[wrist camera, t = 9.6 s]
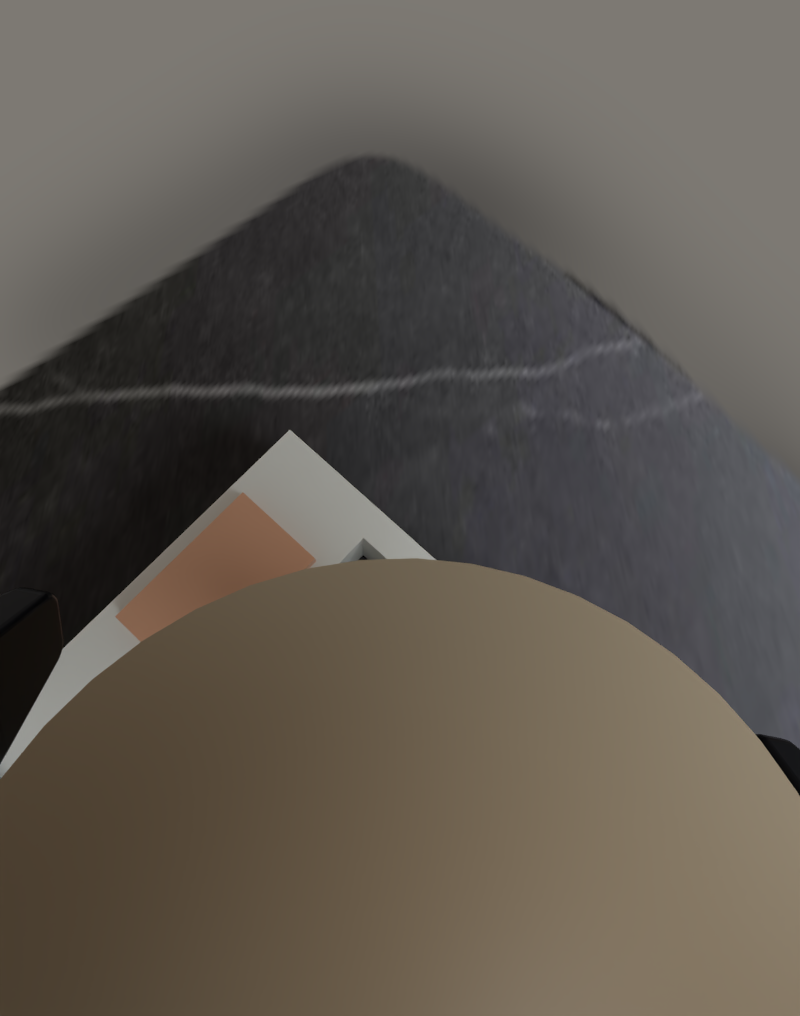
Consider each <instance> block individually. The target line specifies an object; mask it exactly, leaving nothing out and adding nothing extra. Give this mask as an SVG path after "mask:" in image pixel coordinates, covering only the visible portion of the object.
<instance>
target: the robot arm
mask: <svg viewBox="0 0 800 1016" xmlns="http://www.w3.org/2000/svg"><path fill="white" fill-rule="evenodd" d="M62 648H63V634H62V627H61V620H60V613H59V605H58V601H57V598H56V597H55V596H54V594H52V593H50V592H45V591H40V590H35V589H30V588H17V589H14V590H11V591H9V592H7V593H4V594H2V595H0V764H1V762H2V761H3V759H4V757H5V756H6V754H7V752H8V750H9V749H10V747H11V745H12V743H13V741H14V740H15V738H16V736H17V734H18V732H19V730H20V729H21V727H22V725H23V723H24V721H25V720H26V718H27V716H28V714H29V712H30V711H31V709H32V707H33V705H34V703H35V702H36V700H37V698H38V696H39V694H40V693H41V691H42V689H43V687H44V685H45V684H46V682H47V680H48V678H49V676H50V675H51V673H52V671H53V669H54V667H55V665H56V664H57V662H58V660H59V658H60V655H61V653H62ZM755 735H756V736H757V737H758V738H759V739H760V740H761V742H762V743H763V745H764V746H765V747H766V749H767V750H768V752H769V753H770V754H771V756H772V757H773V759H774V760H775V761H776V763H777V764H778V766H779V767H780V768H781V770H782V771H783V773H784V774H785V776H786V777H787V778H788V780H789V781H790V783H791V784H792V785H793V787H794V788H795V790H796V791H797V792H798V794H799V796H800V749H799V748H797V747H796V746H795V745H794V744H793V743H791V742H790V741H788V740H785V739H782V738H777V737H772V736H767V735H762V734H755Z"/></svg>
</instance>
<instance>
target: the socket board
mask: <svg viewBox="0 0 800 1016" xmlns="http://www.w3.org/2000/svg"><path fill="white" fill-rule="evenodd" d="M363 555H364V556H365V557H366V558H367V559H368V560H375V559H408V558H419V559H429V560H436V559H434V558H433V557H432V556H431V555H430V554H429V553H428V552H427V551H425V550H424V549H423V548H422V547H421V546H420V545H419V544H418V543H416V542H415V541H414V540H413V539H412V538H411V537H410V536H409V535H407V534H406V533H405V532H404V531H403V530H402V529H401V528H400V527H398V526H397V525H396V524H395V523H394V522H393V521H392V520H391V519H389V518H388V517H387V516H386V515H385V514H384V513H383V512H382V511H381V510H379V509H378V508H377V507H376V506H375V505H374V504H373V503H372V502H370V501H369V500H368V499H367V498H366V497H365V496H364V495H363V494H361V493H360V492H359V491H358V490H357V489H356V488H355V487H354V486H352V485H351V484H350V483H349V482H348V481H347V480H346V479H345V478H343V477H342V476H341V475H340V474H339V473H338V472H337V471H336V470H335V469H333V468H332V467H331V466H330V465H329V464H328V463H327V462H326V461H324V460H323V459H322V458H321V457H320V456H319V455H318V454H317V453H315V452H314V451H313V450H312V449H311V448H310V447H309V446H308V445H306V444H305V443H304V442H303V441H302V440H301V439H300V438H299V437H297V436H296V435H295V434H294V433H293V432H292V431H291V430H289V431H288V432H287V433H286V434H285V435H284V436H283V437H282V438H281V439H280V440H279V441H278V442H277V443H276V444H275V445H273V446H272V447H271V448H270V449H269V450H268V451H267V452H266V453H265V454H264V455H263V456H262V457H261V458H260V459H259V460H258V461H257V462H256V463H255V464H254V465H253V466H252V467H251V468H250V469H249V470H248V471H247V472H246V473H244V474H243V475H242V476H241V477H240V478H239V479H238V480H237V481H236V482H235V483H234V484H233V485H232V486H231V487H230V488H229V489H228V490H227V491H226V492H225V493H224V494H223V495H222V496H221V497H220V498H219V499H218V500H216V501H215V502H214V503H213V504H212V505H211V506H210V507H209V508H208V509H207V510H206V511H205V512H204V513H203V514H202V515H201V516H200V517H199V518H198V519H197V520H196V521H195V522H194V523H193V524H192V525H191V526H190V527H189V528H187V529H186V530H185V531H184V532H183V533H182V534H181V535H180V536H179V537H178V538H177V539H176V540H175V541H174V542H173V543H172V544H171V545H170V546H169V547H168V548H167V549H166V550H165V551H164V552H163V553H162V554H161V555H159V556H158V557H157V558H156V559H155V560H154V561H153V562H152V563H151V564H150V565H149V566H148V567H147V568H146V569H145V570H144V571H143V572H142V573H141V574H140V575H139V576H138V577H137V578H136V579H135V580H134V581H133V582H132V583H130V584H129V585H128V586H127V587H126V588H125V589H124V590H123V591H122V592H121V593H120V594H119V595H118V596H117V597H116V598H115V599H114V600H113V601H112V602H111V603H110V604H109V605H108V606H107V607H106V608H105V609H104V610H103V611H101V612H100V613H99V614H98V615H97V616H96V617H95V618H94V619H93V620H92V621H91V622H90V623H89V624H88V625H87V626H86V627H85V628H84V629H83V630H82V631H81V632H80V633H79V634H78V635H77V636H76V637H75V638H73V639H72V640H71V641H70V642H69V643H68V644H67V645H66V646H65V647H64V648H63V649H62V653H61V655H60V658H59V660H58V662H57V664H56V665H55V667H54V669H53V671H52V673H51V675H50V676H49V678H48V680H47V682H46V684H45V685H44V687H43V689H42V691H41V693H40V694H39V696H38V698H37V700H36V702H35V703H34V705H33V707H32V709H31V711H30V712H29V714H28V716H27V718H26V720H25V721H24V723H23V725H22V727H21V729H20V730H19V732H18V734H17V736H16V738H15V740H14V741H13V743H12V745H11V747H10V749H9V750H8V752H7V754H6V756H5V757H4V759H3V761H2V762H1V764H0V779H1V778H2V777H3V775H4V774H5V773H6V772H7V770H8V769H9V768H10V767H11V766H12V764H13V763H14V762H15V761H16V759H17V758H18V757H19V756H20V755H21V753H22V752H23V751H24V750H25V749H26V747H27V746H28V745H29V744H30V742H31V741H32V740H33V739H34V738H35V736H36V735H37V734H38V733H39V731H40V730H41V729H42V728H43V727H44V726H45V725H46V724H47V723H48V722H49V721H50V720H51V719H52V718H53V717H54V716H55V715H56V714H57V713H58V712H59V711H60V710H61V709H62V708H63V707H64V706H65V705H66V704H67V703H68V702H69V701H70V700H71V699H72V698H73V697H74V696H75V695H77V694H78V693H79V692H80V691H81V690H82V689H83V688H84V687H85V686H86V685H87V684H88V683H89V682H90V681H91V680H92V679H93V678H95V677H96V676H97V675H99V674H100V673H101V672H102V671H104V670H105V669H106V668H108V667H109V666H110V665H112V664H113V663H114V662H115V661H117V660H118V659H119V658H121V657H122V656H123V655H125V654H126V653H127V652H129V651H130V650H131V649H132V648H134V647H135V646H136V645H138V644H139V643H140V642H142V641H143V640H145V639H146V638H148V637H150V636H151V635H153V634H155V633H156V632H158V631H160V630H161V629H163V628H165V627H166V626H168V625H170V624H172V623H173V622H175V621H177V620H178V619H180V618H182V617H183V616H185V615H187V614H188V613H190V612H192V611H193V610H195V609H197V608H199V607H202V606H204V605H206V604H209V603H211V602H213V601H215V600H218V599H220V598H222V597H225V596H227V595H229V594H231V593H234V592H236V591H238V590H241V589H243V588H245V587H247V586H250V585H253V584H256V583H259V582H263V581H266V580H270V579H273V578H276V577H280V576H283V575H287V574H290V573H293V572H297V571H300V570H304V569H308V568H314V567H320V566H327V565H333V564H339V563H345V562H351V561H358V560H359V559H360V558H361V557H362V556H363Z"/></svg>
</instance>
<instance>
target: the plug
mask: <svg viewBox="0 0 800 1016" xmlns="http://www.w3.org/2000/svg"><path fill="white" fill-rule="evenodd" d="M0 1016H800V796H799V794H798V792H797V791H796V790H795V788H794V787H793V785H792V784H791V783H790V781H789V780H788V778H787V777H786V776H785V774H784V773H783V771H782V770H781V768H780V767H779V766H778V764H777V763H776V761H775V760H774V759H773V757H772V756H771V754H770V753H769V752H768V750H767V749H766V747H765V746H764V745H763V743H762V742H761V740H760V739H759V738H758V737H757V736H756V735H755V734H754V733H753V731H752V730H751V729H750V728H749V727H748V726H747V725H746V724H745V723H744V721H743V720H742V719H741V718H740V717H739V716H738V715H737V714H736V712H735V711H734V710H733V709H732V708H731V707H730V706H729V705H728V704H727V702H726V701H725V700H724V699H723V698H722V697H721V696H720V695H719V694H718V693H717V692H716V691H715V690H714V689H713V688H711V687H710V686H709V685H708V684H707V683H706V682H705V681H704V680H702V679H701V678H700V677H699V676H698V675H697V674H696V673H695V672H693V671H692V670H691V669H690V668H689V667H688V666H687V665H686V664H684V663H683V662H682V661H681V660H680V659H679V658H678V657H676V656H675V655H674V654H673V653H671V652H670V651H668V650H667V649H665V648H664V647H663V646H661V645H660V644H658V643H657V642H655V641H654V640H652V639H651V638H650V637H648V636H647V635H645V634H644V633H642V632H641V631H639V630H638V629H637V628H635V627H634V626H632V625H631V624H629V623H628V622H626V621H624V620H622V619H621V618H619V617H617V616H615V615H613V614H611V613H609V612H607V611H605V610H603V609H601V608H600V607H598V606H596V605H594V604H592V603H590V602H588V601H586V600H584V599H582V598H580V597H579V596H577V595H574V594H571V593H568V592H566V591H563V590H560V589H558V588H555V587H552V586H550V585H547V584H544V583H542V582H539V581H536V580H534V579H531V578H528V577H526V576H522V575H518V574H513V573H509V572H505V571H500V570H496V569H492V568H488V567H483V566H479V565H475V564H469V563H459V562H449V561H439V560H429V559H419V558H408V559H375V560H358V561H351V562H345V563H339V564H333V565H327V566H320V567H314V568H308V569H304V570H300V571H297V572H293V573H290V574H287V575H283V576H280V577H276V578H273V579H270V580H266V581H263V582H259V583H256V584H253V585H250V586H247V587H245V588H243V589H241V590H238V591H236V592H234V593H231V594H229V595H227V596H225V597H222V598H220V599H218V600H215V601H213V602H211V603H209V604H206V605H204V606H202V607H199V608H197V609H195V610H193V611H192V612H190V613H188V614H187V615H185V616H183V617H182V618H180V619H178V620H177V621H175V622H173V623H172V624H170V625H168V626H166V627H165V628H163V629H161V630H160V631H158V632H156V633H155V634H153V635H151V636H150V637H148V638H146V639H145V640H143V641H142V642H140V643H139V644H138V645H136V646H135V647H134V648H132V649H131V650H130V651H129V652H127V653H126V654H125V655H123V656H122V657H121V658H119V659H118V660H117V661H115V662H114V663H113V664H112V665H110V666H109V667H108V668H106V669H105V670H104V671H102V672H101V673H100V674H99V675H97V676H96V677H95V678H93V679H92V680H91V681H90V682H89V683H88V684H87V685H86V686H85V687H84V688H83V689H82V690H81V691H80V692H79V693H78V694H77V695H75V696H74V697H73V698H72V699H71V700H70V701H69V702H68V703H67V704H66V705H65V706H64V707H63V708H62V709H61V710H60V711H59V712H58V713H57V714H56V715H55V716H54V717H53V718H52V719H51V720H50V721H49V722H48V723H47V724H46V725H45V726H44V727H43V728H42V729H41V730H40V731H39V733H38V734H37V735H36V736H35V738H34V739H33V740H32V741H31V742H30V744H29V745H28V746H27V747H26V749H25V750H24V751H23V752H22V753H21V755H20V756H19V757H18V758H17V759H16V761H15V762H14V763H13V764H12V766H11V767H10V768H9V769H8V770H7V772H6V773H5V774H4V775H3V777H2V778H1V779H0Z"/></svg>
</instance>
